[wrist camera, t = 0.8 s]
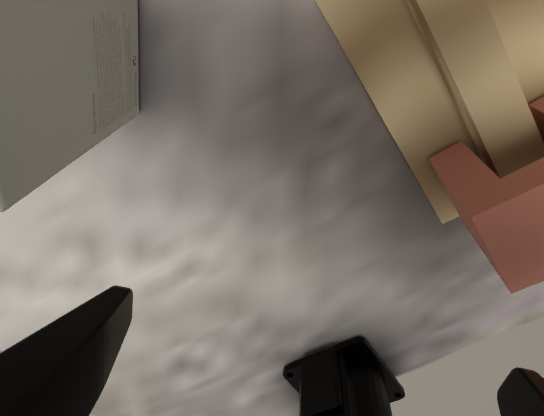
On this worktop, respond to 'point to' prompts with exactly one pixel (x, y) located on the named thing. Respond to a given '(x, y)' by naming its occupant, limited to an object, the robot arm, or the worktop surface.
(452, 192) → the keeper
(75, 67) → the small box
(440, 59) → the rail
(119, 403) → the worktop surface
